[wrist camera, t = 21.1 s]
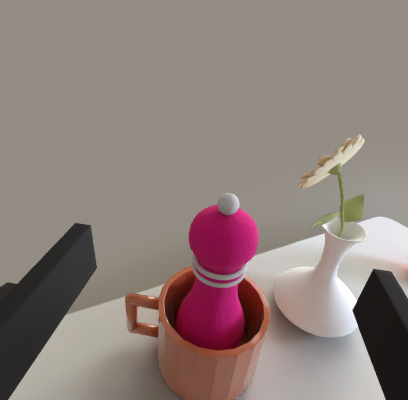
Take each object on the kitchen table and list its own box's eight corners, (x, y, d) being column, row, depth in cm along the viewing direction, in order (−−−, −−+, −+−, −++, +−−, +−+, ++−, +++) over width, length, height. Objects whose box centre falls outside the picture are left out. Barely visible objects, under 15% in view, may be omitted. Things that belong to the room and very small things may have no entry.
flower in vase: (317, 272, 46) (377, 118, 34) (374, 332, 37) (484, 153, 25) (246, 287, 42) (285, 118, 30) (290, 360, 33) (373, 160, 21)
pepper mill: (163, 336, 33) (168, 183, 23) (214, 311, 37) (236, 170, 27) (196, 394, 28) (219, 231, 18) (250, 358, 32) (295, 206, 22)
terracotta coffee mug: (254, 320, 37) (266, 272, 33) (255, 417, 28) (273, 368, 23) (143, 300, 39) (142, 252, 34) (108, 387, 29) (100, 334, 25)
